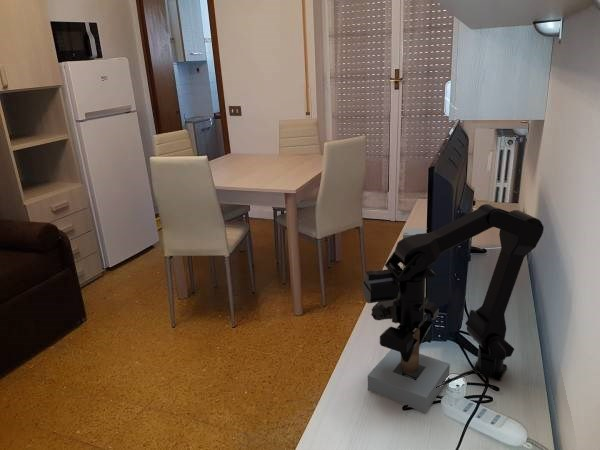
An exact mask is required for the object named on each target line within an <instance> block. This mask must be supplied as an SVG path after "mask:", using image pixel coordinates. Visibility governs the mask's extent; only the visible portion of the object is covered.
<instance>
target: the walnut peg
mask: <svg viewBox="0 0 600 450" xmlns="http://www.w3.org/2000/svg"><path fill="white" fill-rule="evenodd" d="M413 337H414V339H417V340H418V342H417V344H416V346H415V349H414V351H413V353H412V355H411V357H410V359H409V361H408V362H405V361H403V358H402V356H401V369H402V370H403V371H404V372H407V373H415V372H417V371H418V369H419V354H420V346H419V339H420V330H419V329H418V328H416V329H415V330H414V336H413Z"/></svg>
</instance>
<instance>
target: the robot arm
mask: <svg viewBox="0 0 600 450" xmlns="http://www.w3.org/2000/svg"><path fill="white" fill-rule="evenodd" d="M491 228H496V229H499V234H498V235H499V242H500V243H499V244H500V251H499V255H498V257H497V260H496V264H495V267H494V270H493V272H492V276H491V278H490V282H489V285H488V288H487V291H486V293H485V296H484V300H483V303H482V305H481V306H480V307H479V308H477V309H476V310H474V309H470V310H469V313H468V318H467V320H466V322H465V325H466V331H467V333H468V335H469V336H470V337H471V338H472V339H473V341H475V342H476V343H477V344H478V350H477V351H478V352H477V361H476V363H475V364H474V366H473V367H472V369H471V371H473V370H477V371H479V372H480V374H482V375H481V376H483V375H484V376H483V377H486V378H489V379H492V380H495V381H498V382H500V381H502V378H503V376H504V374H505V372H507V371H506V370H507V369H508V365H507V364H506V363H504V362H505V360H506V359H507V358H509V357H512V355H513V353H514V351H515V348H514V347H513V346H512V345H511V344H510V343H509V342H508V341H507V340H506V339H505V338H506V333H507V324H506V323H507V322H506V318H505V317H506V316H505V313H506V311H507V307H508V305H509V302H510V299H511V296H512V294H513V290H514V287H515V285H516V283H517V280H518V277H519V276H518V275H519V274H520V271H521V268H522V265H523V262H524V259H525V257H526V256H527V255H528V254H529V253H531V252H532V251H533V250H534V249H535V248H536V247H537V246H538V243H539V241H540V240H541V237H543V234H544V229H545V226H544V225H543V222H542V221H541V220H540V219H538V218H536V217H535V216H532V215H530V214H527V213H525V212H523V211H522V210H518V209H514V210H511V211H508V210H505V209H502V208H499V207H496V206H493V205H491V204H488V203H486V204H481V205H480V206H479V207H478V208H477V209H475V210H472V211H471V212H469V213H467V214H465V215H463V216H462V217H459V218H458V219H455V220H453V221H451V222H450V223H447V224H445V225H443V226H441V227H439V228H437V229H436V230H433V231H429V233H423V234H416V235H413V236H409V237H406V238H403V237H402V239H400V240H398V242H397V243H396V247H395V249H394V251H393V253H392V254H391V255H390V257H389V258H388V259H387V261H386V263H385V264H384V266H385V268H386V269H380V270H367V271H366V272H365V276H364V277H363V281H362V282H361V283H362V284H361V286H362V287H361V288H362V293H363V296H364V299H365V302H366V303H367V304H373V303H375V304H374V305H373V306H372V308H371V314H370V316H371V317H372V318H373V319H374V320H375V321H384V320H391V322H392V323H394V324H398V326H396V327H394V326H389V327H387V328H386V329H385V330H384V331H383V332H382V333H381V334H380V335H379V345H380V346H381V347H384V348H386V349H390V350H391V349H392V350H395V351H398V352H400V353H401V356H402V358H403V361H405V362H408V361H409V359H410V357H411V355H412V353H413V351H414V349H415V346H416V344H417V342H418V340H417V339H414V337H413V336H414V330H415V329H416V328H418V329H419V330H420V339H419V347H420V346H421V344H422V342H423V341H424V339H425V337H426V335H427V334H428V332H429V330H430V328H431V326H433V322H431V321H429V320H428V314H429V315H430V319H431V320H433V321H435V320H436V318H438V316H439V315H440V312H439V311H440V307H439V306H438V305H437V303H435V302H430V301H429V298H428V297H426V279H429V278H434V277H435V278H436V273H435V272H434V271H433V270H432V269H430V267H431V266H432V265H433V264H435V263H436V262H437V261H438V259H439V258H440V256H441V255H442V254H443V253H445V252H446V251H448V250H450V249H452V248H454V247H456V246H458V245H460V244H461V243H464V242H466V241H468V240H470V239H472V238H473V237H476V236H478V235H480V234H482V233H484V232H486V231H488V230H490V229H491ZM399 264H402V265H403V268H402V267H401V266H400V265H399ZM404 266H405V268H404ZM480 374H479V375H480Z"/></svg>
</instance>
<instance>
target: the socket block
mask: <svg viewBox="0 0 600 450" xmlns="http://www.w3.org/2000/svg"><path fill="white" fill-rule="evenodd" d="M450 366H451V363H450V362H446V361H443V360H440V359H439V358H438V359H437V358H435V357H432V356H429V355H426V354H423V353H419V369H418V371H417V372H415V373H407V372H404V371H403V370H402V369H401V353H400V352H398V351H395V350H392V349H390V350H389V351H388V352H387V354H386V355H385V356H384V357H383V358H382V359H381V360H380V361H379V362H378V363H377V365H375V367H373V369H372V370H371V371H370V372H369V373H368V374H367V390H368V391H370V392H372V393H374V394H377V395H380V396H382V397H385V398H387V399H390V400H393V401H394V402H397V403H400V404H402V405H404V406H407V405H408V406H407V407H409V406H410V407H409V408H411V409H415V410H417V411H419V412H422V413H424V414H427V412H428V411H429V409H430V407H431V406H432V405H433V403H434V402H435V400H436V398H437V397H438V395H439V394H440V392H441V391H442V389H443V388H444V386H441V387H437V386H438V385H439V384H440V383H442V382H443V381H445V380H446V378H447V377H448V376H449V377H450V368H451V367H450ZM402 374H405V375H407V376H411V377H413V378H416V380H415V379H412V378H410V377H407V376H404V375H402ZM436 387H437V388H436ZM433 401H434V402H433Z"/></svg>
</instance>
